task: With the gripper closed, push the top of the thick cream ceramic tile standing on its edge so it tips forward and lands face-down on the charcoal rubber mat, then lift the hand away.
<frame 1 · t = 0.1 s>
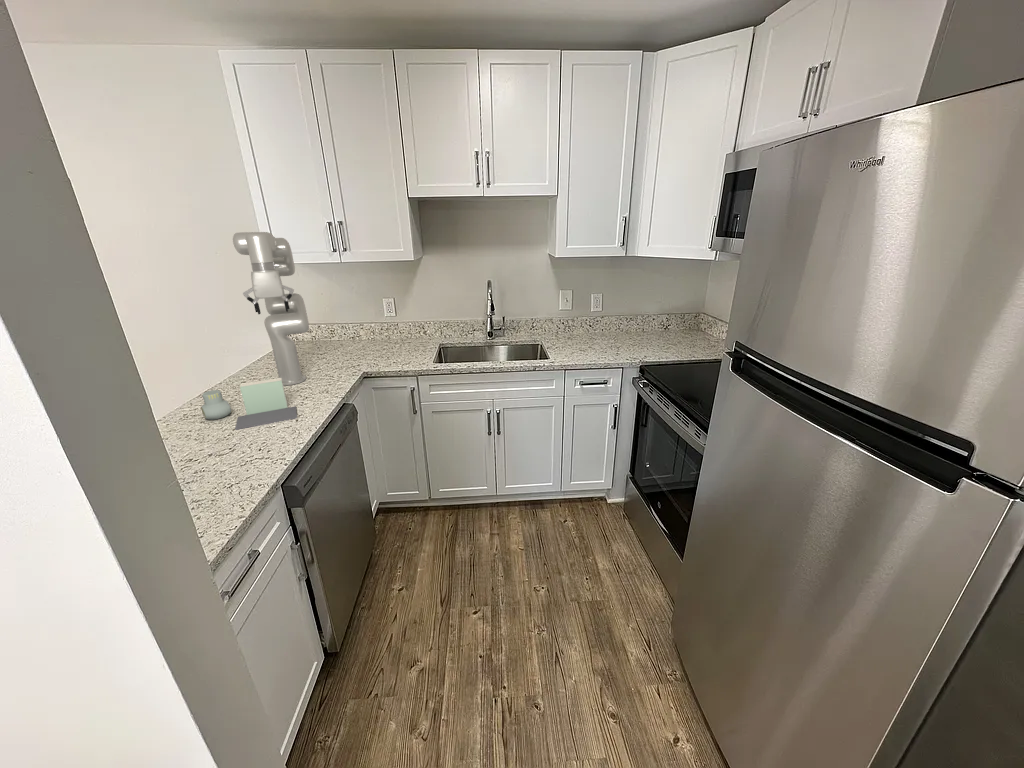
hand: (273, 312, 165), 37 cm above the countertop, tool pointing down, fingers open, 9 cm apart
tile: (268, 410, 167), on the countertop
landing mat: (267, 418, 160), on the countertop
air freshener: (218, 417, 163), on the countertop
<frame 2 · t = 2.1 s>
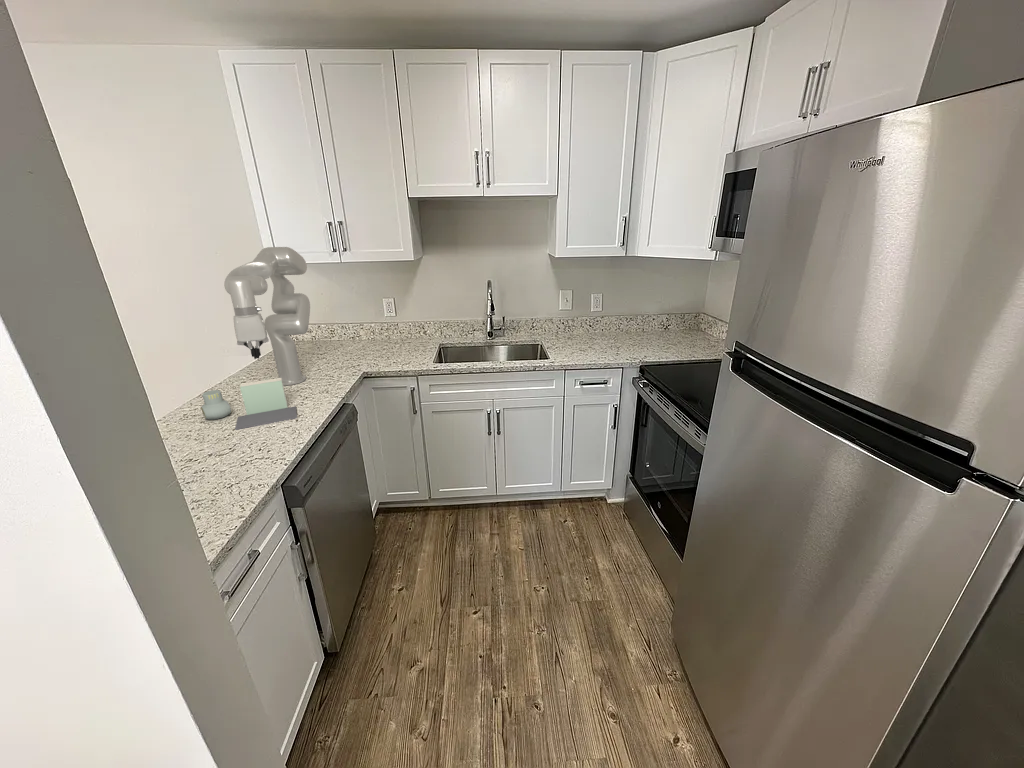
hand: (257, 357, 166), 20 cm above the countertop, tool pointing down, fingers closed
nothing on the countertop moved.
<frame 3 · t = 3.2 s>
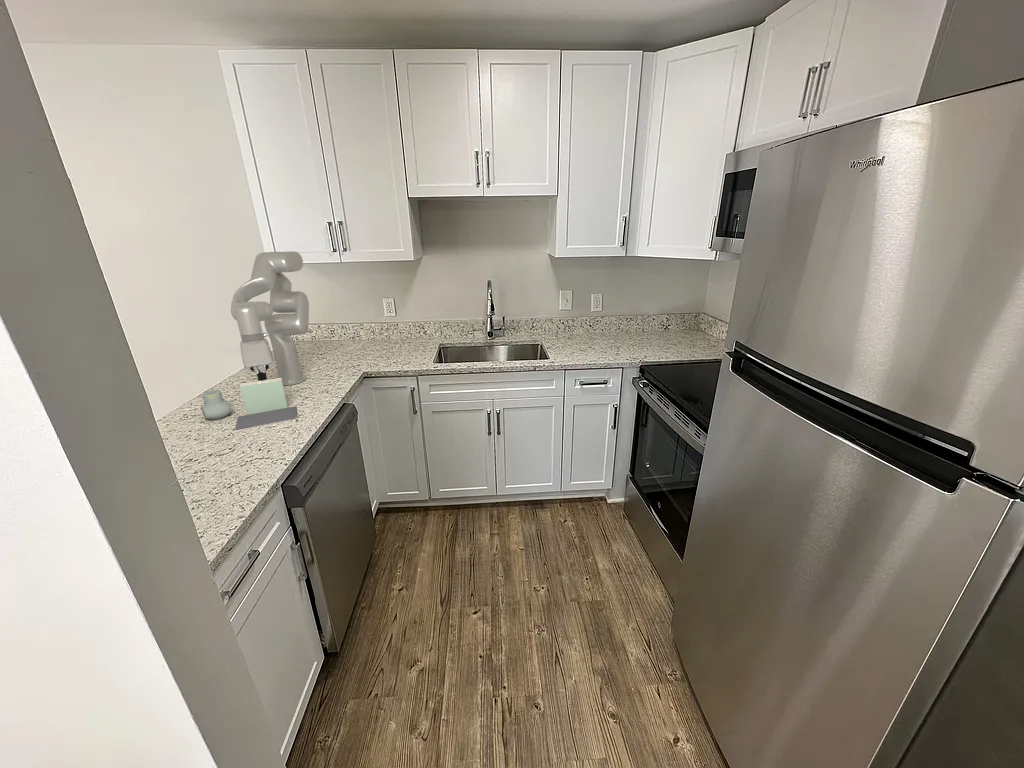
hand: (263, 381, 170), 10 cm above the countertop, tool pointing down, fingers closed
nothing on the countertop moved.
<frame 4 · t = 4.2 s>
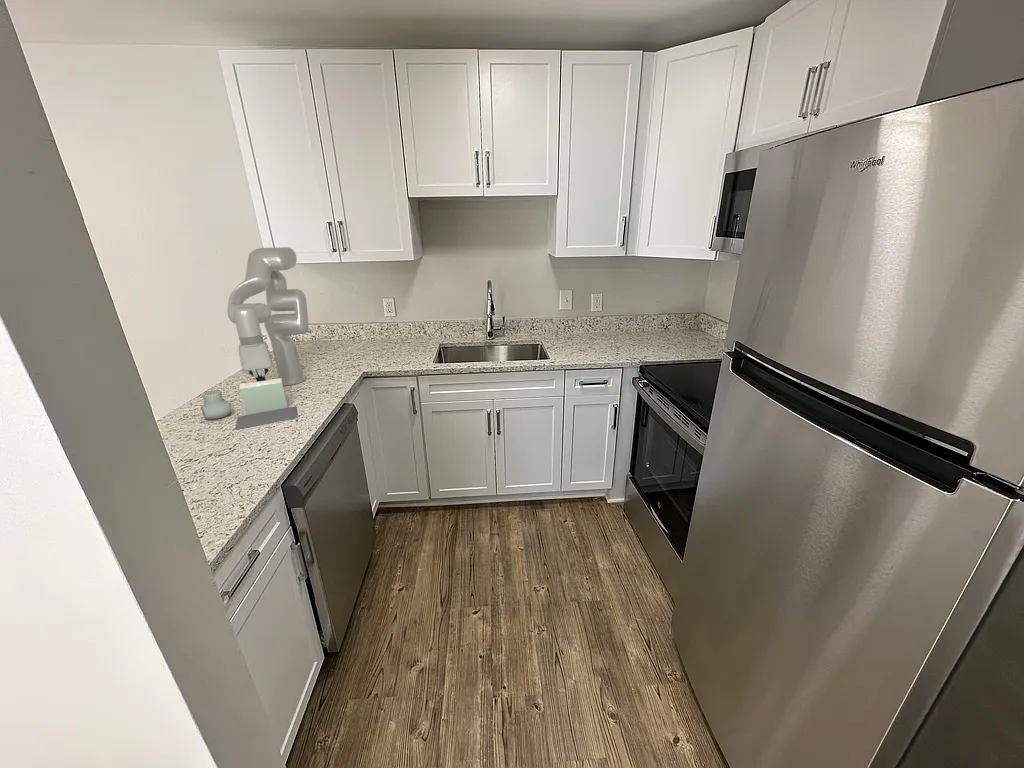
hand: (262, 385, 165), 10 cm above the countertop, tool pointing down, fingers closed
tile: (267, 409, 167), on the countertop, tilted 10°
everything else where it was.
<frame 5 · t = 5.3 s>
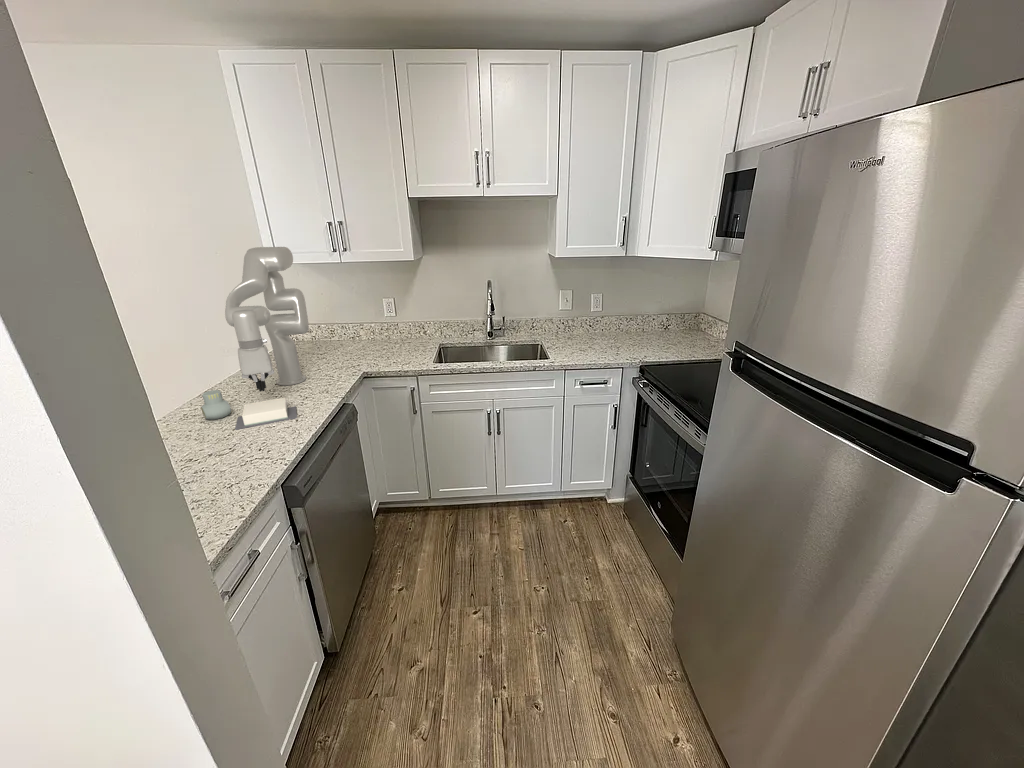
hand: (262, 390, 161), 10 cm above the countertop, tool pointing down, fingers closed
tile: (266, 405, 165), point 3 cm above the countertop, tilted 90°, touching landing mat
everything else where it was.
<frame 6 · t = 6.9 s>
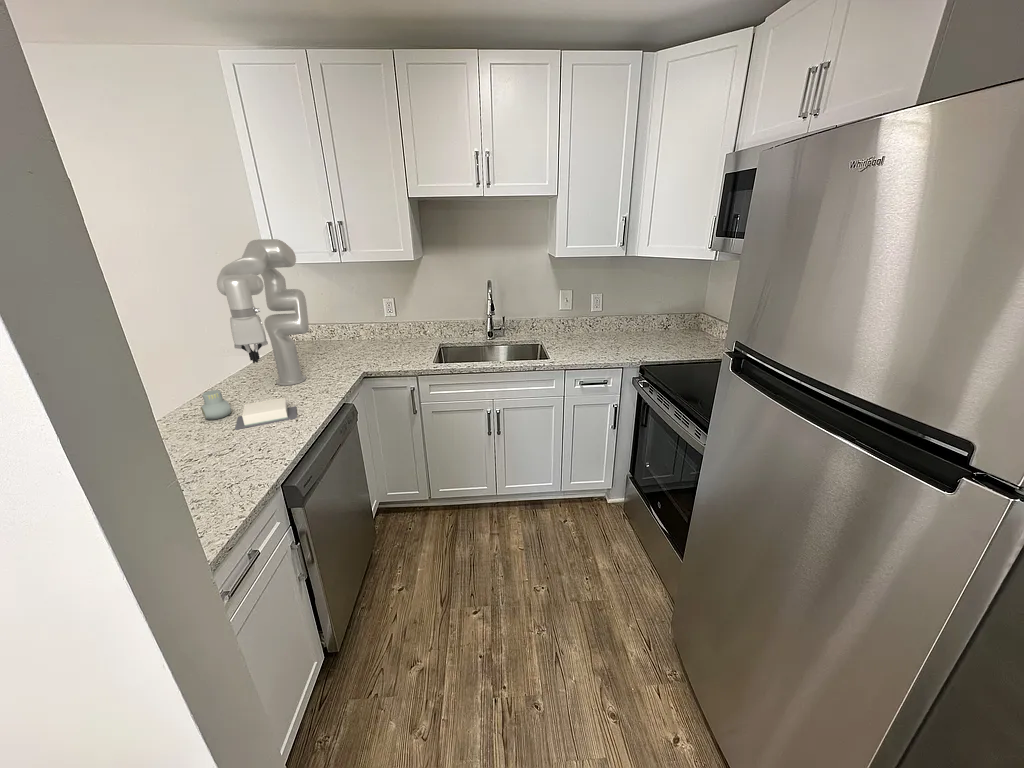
hand: (255, 361, 158), 21 cm above the countertop, tool pointing down, fingers closed
nothing on the countertop moved.
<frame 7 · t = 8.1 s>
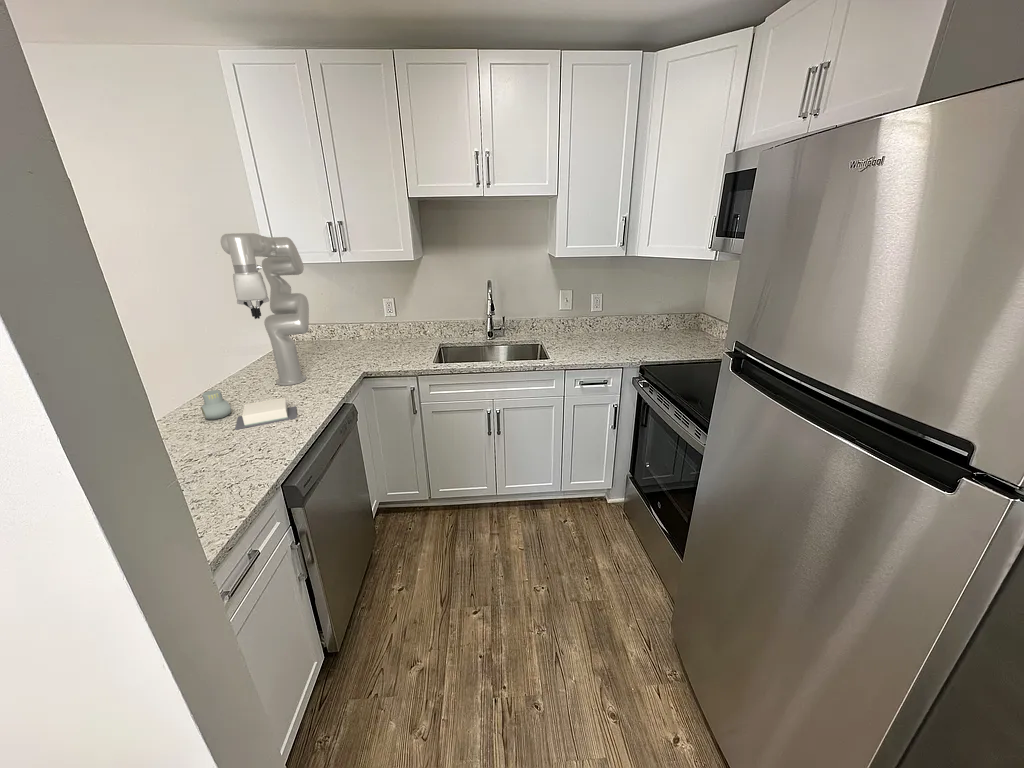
hand: (257, 318, 164), 35 cm above the countertop, tool pointing down, fingers closed
nothing on the countertop moved.
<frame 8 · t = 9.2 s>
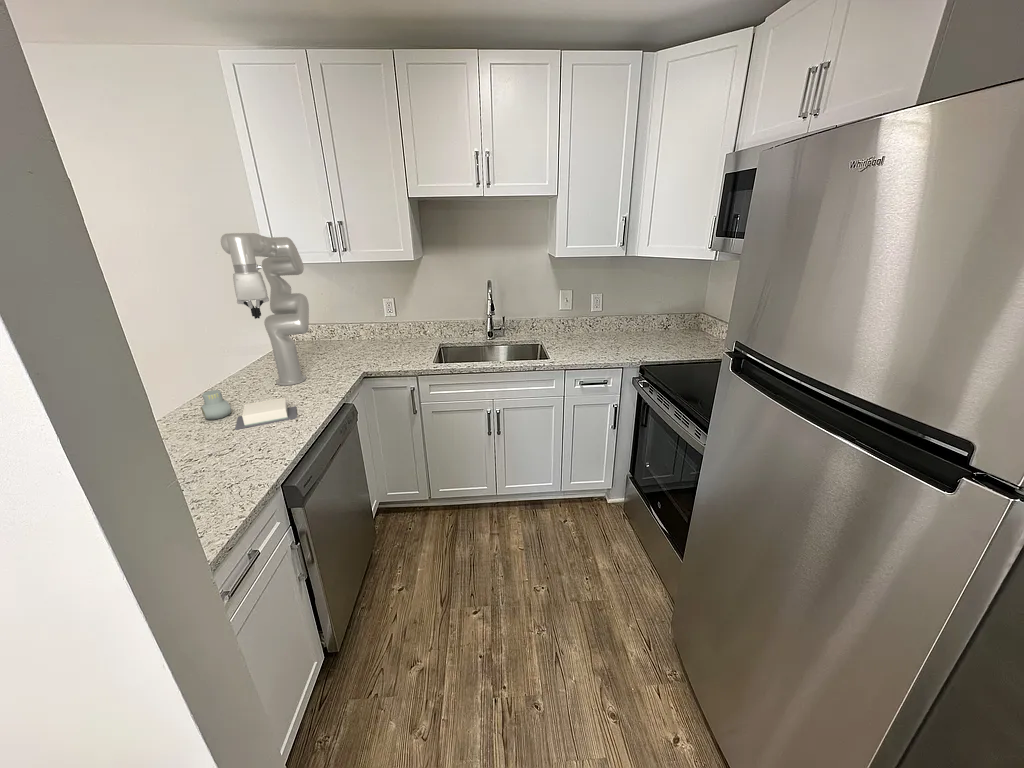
hand: (257, 317, 164), 35 cm above the countertop, tool pointing down, fingers closed
nothing on the countertop moved.
at the end: tile tilted 90°; tile touching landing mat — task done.
